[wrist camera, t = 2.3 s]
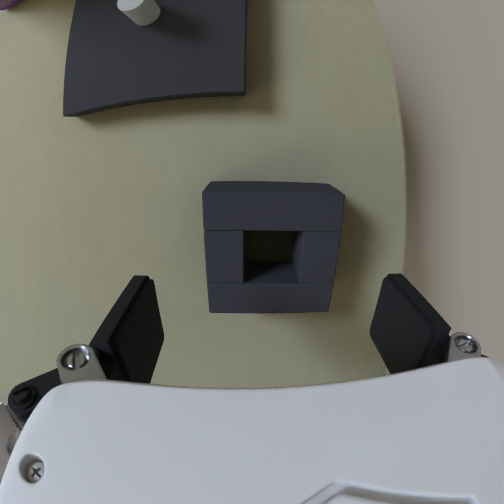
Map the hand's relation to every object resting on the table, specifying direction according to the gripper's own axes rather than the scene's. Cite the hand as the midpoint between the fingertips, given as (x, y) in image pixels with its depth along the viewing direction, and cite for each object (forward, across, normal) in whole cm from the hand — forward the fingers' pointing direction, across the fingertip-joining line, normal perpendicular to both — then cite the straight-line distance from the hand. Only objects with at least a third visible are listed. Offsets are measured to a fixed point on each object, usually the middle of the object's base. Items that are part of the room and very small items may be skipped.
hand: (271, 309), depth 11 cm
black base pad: (+7, +6, -14) cm, 17 cm away
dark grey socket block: (+7, 0, 0) cm, 7 cm away
